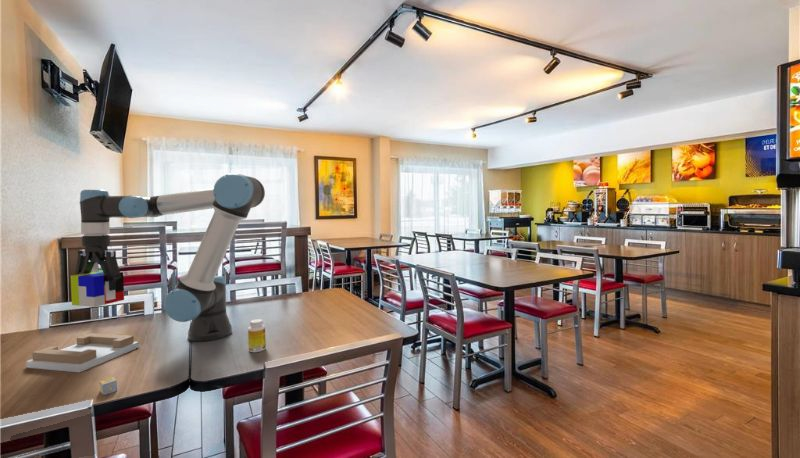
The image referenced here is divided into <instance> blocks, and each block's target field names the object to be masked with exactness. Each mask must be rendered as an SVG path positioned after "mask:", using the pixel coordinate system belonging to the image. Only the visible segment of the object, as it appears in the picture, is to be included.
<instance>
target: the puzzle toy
mask: <svg viewBox="0 0 800 458" xmlns="http://www.w3.org/2000/svg"><path fill="white" fill-rule="evenodd" d="M120 274H121V278H120V279H117V280H116V290H115V298H116V299H112V300H108V301H106V290H105V281H106V280H107V279H106V277H105V275H104V272H103V270H99V271H94V272H92V271H91V273H86V274H80V273H79V275H75V274H73V275H70V288H71V289H70V290H71V291H70V292H71V306H76V307H77V306H78V307H89V308H95V307H100V306H101V307H102V306H104V305H105V306H106V305H109V304H113V303H117V302H121V301H124V300H125V287H124V286H125V285H124V284H125V282H124V271H123V272H122V271H120ZM116 276H117V275H116ZM110 277H111V276H110Z"/></svg>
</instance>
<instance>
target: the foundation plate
mask: <svg viewBox="0 0 800 458" xmlns="http://www.w3.org/2000/svg"><path fill="white" fill-rule="evenodd" d="M136 348H137V349H138V348H139V349H140V342H139V341H135V338H134V335H129V334H128V335H127V334H125V335H124V334H113V333H112V334H110V333H97V332H91V333H88V334H85V335H81V336H77V337H76V344H72V345H70V346H67V347H64V348H60V349H59V347H58V346H52V345H50V346H47V347H44V348H42V349H39V350H36V351H32V353H31V354H32V358H31V359H28V360H26V362H25V363H26V368H27V369H38V370H48V371H49V370H50V371H59V372H61V371H62V372H73V373H81V372H82V373H83V372H84V371H86V370H88V369H91V368H93V367H95V366H98V365H100V364H103V363H105V362H107V361H110V360H113V359H115V358H117V357H119V356H123V355H124V353H125V354H127V353H129V352H131V351H134V350H136Z"/></svg>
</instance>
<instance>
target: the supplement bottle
mask: <svg viewBox="0 0 800 458" xmlns="http://www.w3.org/2000/svg"><path fill="white" fill-rule="evenodd" d="M249 323H250V326H248V327H247V340H248V341H247V344H248V351H249V352H250V353H258V352H263V351H265V349H266V345H267V344H266V343H267V342H266V326H265V325H264V324H263V323H264V322H263V319H262V318H260V319H259V318H258V319H257V318H256V319H252V320H250V322H249Z"/></svg>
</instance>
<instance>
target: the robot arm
mask: <svg viewBox="0 0 800 458" xmlns="http://www.w3.org/2000/svg"><path fill="white" fill-rule="evenodd" d="M214 183H215V184H214V186H213V187H212V188H207V189H206V188H205V189H197V190H193V191H192V190H191V191H185V192H175V193H169V194H163V195H154V196H139V195H132V194H131V195H109V191H108V190H106V189H105V190H104V189H83V190H81V191H80V192H79V194H80V195H79V197H80V198H79V206H80V220H81V222H80V232H81V233H80V234H81V235H82V236H81V246H82V247H84V248H85V249H78V250H77V261H76V266H75V270H74V275H79V274H86V273H91V272H92V271H93V267H94V266H95V264H96V263H97V265H98V266H100V268H101V271H103V272H104V275H105V277H106V279H107V280H106V281H105V290H106V301H108V300H112V299H116V298H115V290H116V280H117V279H120V278H121V274H120V272H121V271H120V268H119V264H118V259H117V252H116V250H109V249H108V247H110V246H111V236H110V232H111V231H110V228H111V227H110V220H111V219H110V218H118V219H119V218H122V219H123V218H126V219H127V218H128V219H137V218H158V217H163V216H166V215H175V214H181V213H183V214H184V213H188V212H189V213H190V212H197V211H204V210H212V209H213V210H214V211H213V213H212V214H213V215H212V217H211V220H210V221H209V224H208V226H207V228H206V231H205V232H204V234H203V237H202V240H201V242H200V244H199V246H198V248H197V250H196V253H195V255H194V257H193V260H192V262H191V265H190V267H189V269H188V271H187V273H185V274H183V275H181V276H180V278H179V280H178V282H177V283H176V287H175V288H174V289H172V290H170V291H169V292H168V293H167V294H166V295H165V297H164V300H163V308H164V309H163V310H164V311H165V312H166V315H167V317H169V318H170V319H172V320H173V321H175V322H179V323H185V322H189V321H190V324H189V328H188V331H187V338H188V340H190V341H193V342H206V341H207V342H208V341H214V340H219V339H222V338H225V337H227V336H229V335H231V333H232V332H233V327H232V324H231V321H230V319H229V317H228V316H229V315H228V314H227V293H226V292H227V291H226V286H227V283H226V278H225V277H224V276H222V275H218V274H217V273H218V272H219V270H220V267H221V264H222V263H223V260H224V258H225V256H226V254H227V252H228V249H229V247H230V245H231V242H232V240H233V238H234V235H235V234H236V231H237V229H238V226H239V224H240V222H241V221H242V220H246V219H247V218H248V215H249V213H250V211H251V209H253V208H255V207H258V206H260V204H262V203H263V201H264V199H265V195H266V190H265V187H264V185H263V183H262V182H261V181H260V180H259V179H257V178H255V177H252V176H249V175H244V174H241V173H228V174H224V175H222V176H220V177H219V178H218V179H217V180H216V182H214ZM116 275H117V276H116ZM110 276H111V277H110Z"/></svg>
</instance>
